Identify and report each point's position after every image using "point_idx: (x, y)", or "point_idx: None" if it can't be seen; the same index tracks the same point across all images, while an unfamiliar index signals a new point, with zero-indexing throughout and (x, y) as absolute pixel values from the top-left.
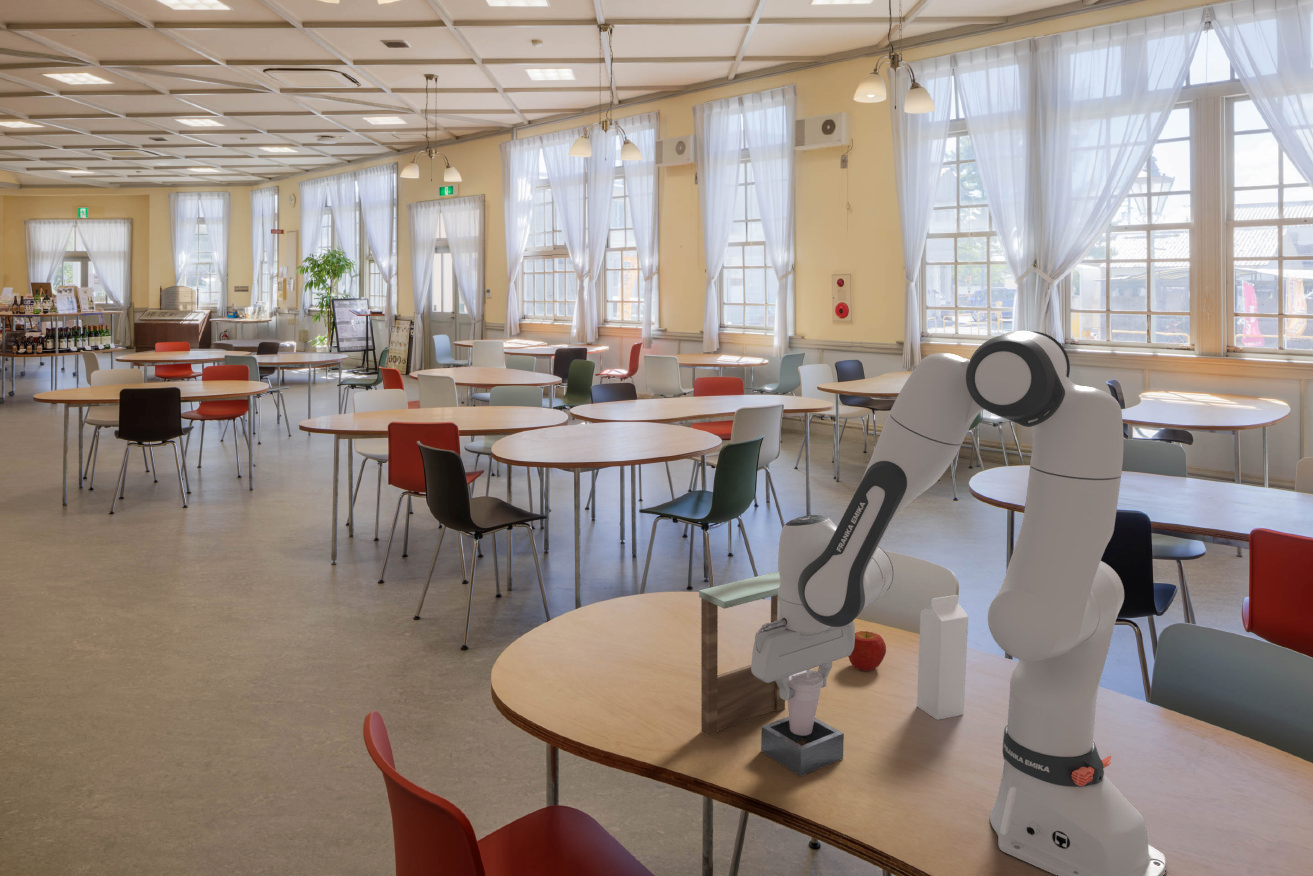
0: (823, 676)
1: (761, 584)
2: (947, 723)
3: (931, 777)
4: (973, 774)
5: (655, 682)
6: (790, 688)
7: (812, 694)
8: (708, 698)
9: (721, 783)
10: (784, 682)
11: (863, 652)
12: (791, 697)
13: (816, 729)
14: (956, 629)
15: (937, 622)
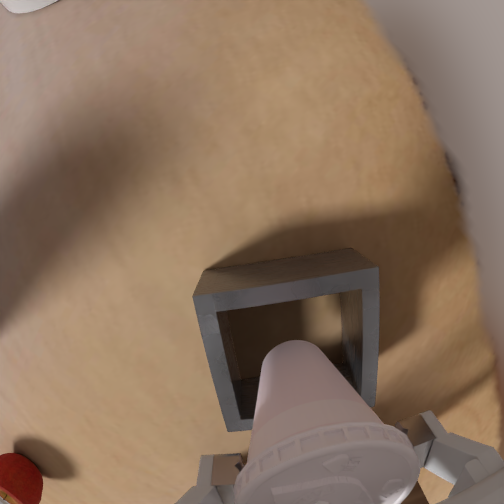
0: (212, 494)
1: None
2: None
3: (73, 113)
4: (10, 102)
5: None
6: (417, 452)
7: (340, 414)
8: (419, 485)
9: (477, 294)
10: (487, 452)
11: (18, 481)
12: (410, 420)
13: (231, 367)
14: None
15: None
